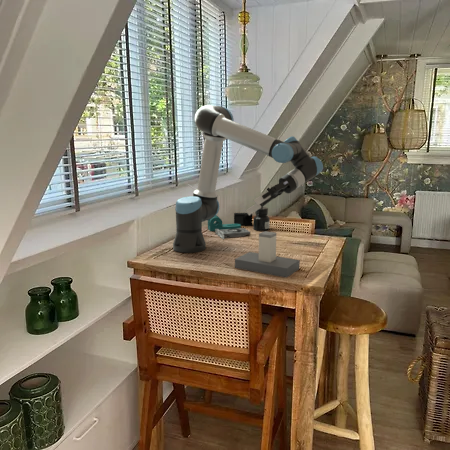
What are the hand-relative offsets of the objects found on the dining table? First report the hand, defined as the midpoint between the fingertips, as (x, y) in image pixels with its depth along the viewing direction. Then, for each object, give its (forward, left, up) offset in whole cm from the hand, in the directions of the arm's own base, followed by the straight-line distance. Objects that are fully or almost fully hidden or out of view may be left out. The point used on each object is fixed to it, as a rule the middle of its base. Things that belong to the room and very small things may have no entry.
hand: (251, 207), depth 172 cm
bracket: (-62, -13, -24) cm, 68 cm away
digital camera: (-72, -3, -24) cm, 76 cm away
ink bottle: (-62, +7, -23) cm, 67 cm away
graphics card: (-47, -8, -24) cm, 53 cm away
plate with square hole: (+9, +6, -23) cm, 26 cm away
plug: (+9, +6, -22) cm, 25 cm away
